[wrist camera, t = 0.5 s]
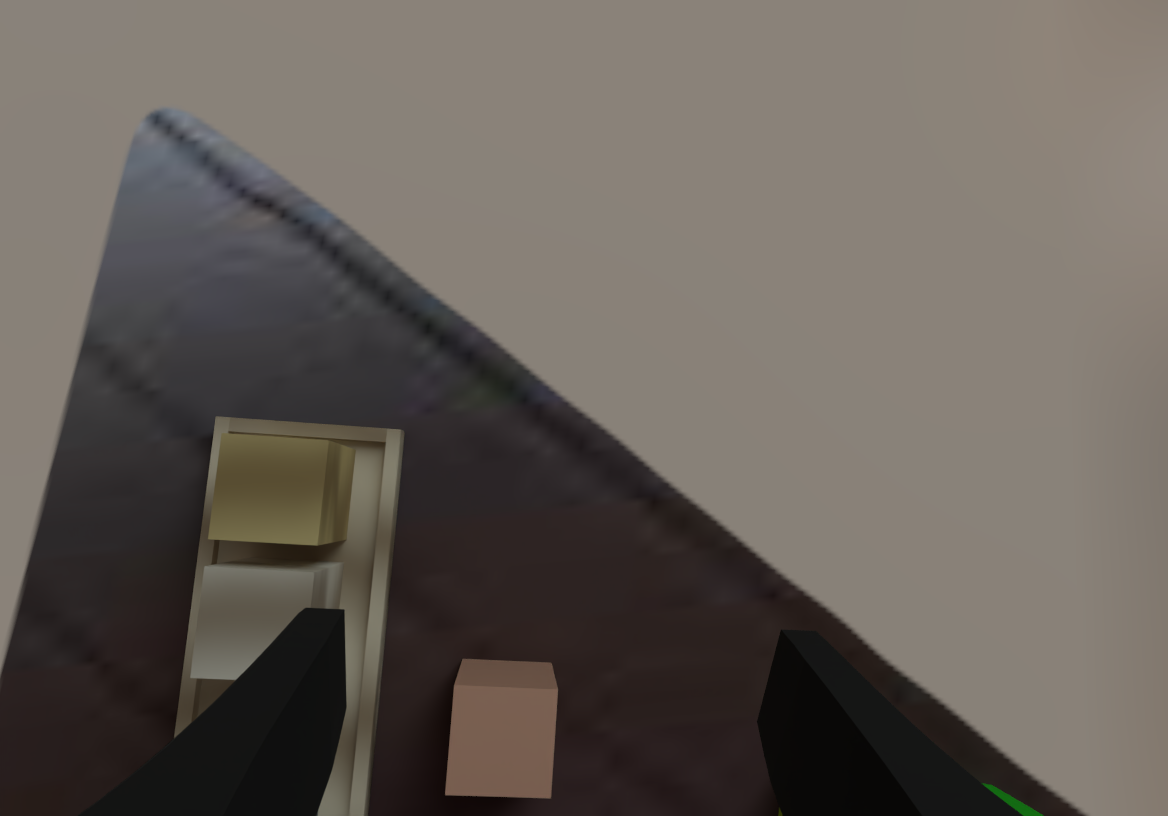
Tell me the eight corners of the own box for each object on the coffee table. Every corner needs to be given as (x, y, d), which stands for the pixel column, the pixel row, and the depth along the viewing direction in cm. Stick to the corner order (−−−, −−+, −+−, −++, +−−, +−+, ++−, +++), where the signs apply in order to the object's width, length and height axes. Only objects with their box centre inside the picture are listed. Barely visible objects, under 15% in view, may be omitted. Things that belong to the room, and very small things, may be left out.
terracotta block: (545, 755, 34) (550, 798, 29) (455, 751, 33) (445, 795, 28) (551, 662, 34) (558, 689, 29) (462, 658, 34) (454, 684, 29)
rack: (345, 1052, 31) (309, 1169, 26) (145, 1051, 31) (64, 1172, 25) (404, 432, 35) (384, 418, 29) (226, 419, 34) (170, 403, 29)
